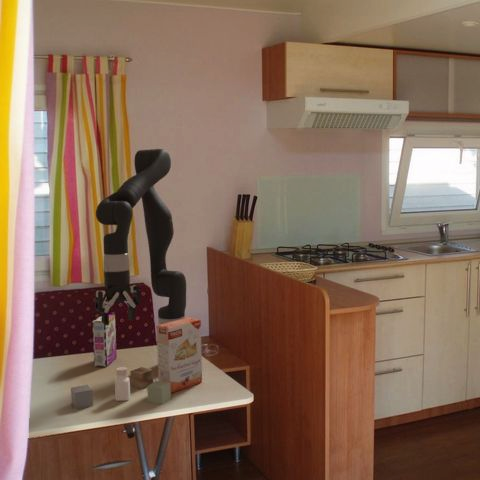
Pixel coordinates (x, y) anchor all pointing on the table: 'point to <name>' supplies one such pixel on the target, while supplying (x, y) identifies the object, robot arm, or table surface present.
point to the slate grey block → (81, 396)
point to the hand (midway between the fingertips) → (118, 322)
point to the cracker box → (179, 353)
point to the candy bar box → (104, 342)
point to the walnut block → (141, 377)
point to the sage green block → (159, 392)
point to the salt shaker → (122, 384)
